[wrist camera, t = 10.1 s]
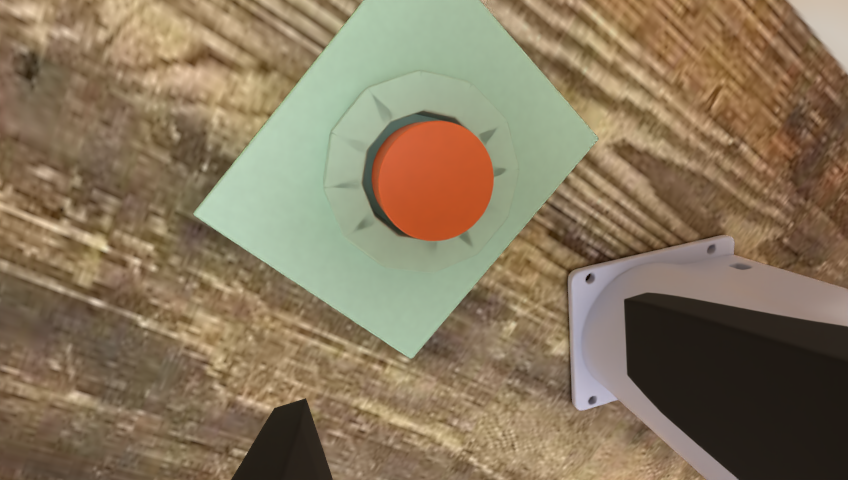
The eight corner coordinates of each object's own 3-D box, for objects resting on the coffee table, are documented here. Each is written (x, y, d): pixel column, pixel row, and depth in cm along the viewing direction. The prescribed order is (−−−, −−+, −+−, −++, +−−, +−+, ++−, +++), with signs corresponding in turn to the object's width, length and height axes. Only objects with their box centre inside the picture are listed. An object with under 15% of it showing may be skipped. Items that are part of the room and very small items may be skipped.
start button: (419, 97, 13) (433, 92, 11) (494, 170, 14) (517, 175, 13) (348, 184, 13) (352, 191, 12) (428, 248, 14) (442, 263, 13)
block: (409, -49, 15) (434, -101, 11) (575, 137, 18) (632, 139, 15) (204, 205, 15) (172, 226, 12) (404, 341, 19) (421, 385, 15)
